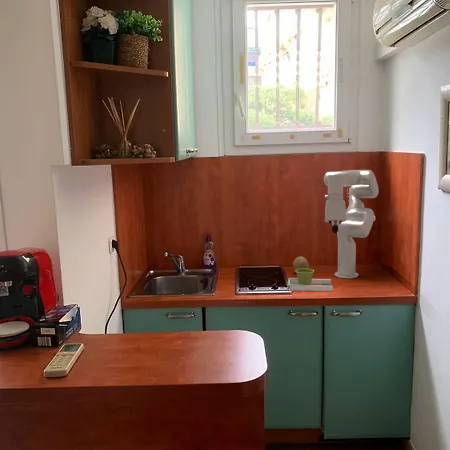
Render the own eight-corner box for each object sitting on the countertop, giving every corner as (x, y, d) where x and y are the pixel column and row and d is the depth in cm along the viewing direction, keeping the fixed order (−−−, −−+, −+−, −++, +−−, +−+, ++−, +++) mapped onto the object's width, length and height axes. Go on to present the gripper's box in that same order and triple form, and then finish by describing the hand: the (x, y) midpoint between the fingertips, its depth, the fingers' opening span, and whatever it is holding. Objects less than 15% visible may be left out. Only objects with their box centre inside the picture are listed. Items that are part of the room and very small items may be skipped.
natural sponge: (292, 271, 270) (292, 254, 269) (307, 271, 270) (307, 254, 269) (293, 275, 261) (293, 258, 260) (309, 275, 261) (309, 258, 260)
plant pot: (313, 290, 233) (313, 273, 232) (294, 289, 235) (294, 272, 234) (314, 285, 242) (314, 268, 241) (296, 284, 244) (296, 268, 243)
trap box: (288, 283, 246) (288, 278, 246) (330, 283, 243) (330, 278, 243) (288, 290, 233) (287, 284, 233) (332, 291, 230) (332, 285, 230)
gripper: (320, 198, 232) (320, 234, 235) (351, 197, 230) (351, 234, 233) (319, 197, 240) (319, 232, 243) (349, 196, 238) (349, 232, 240)
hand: (335, 233), depth 238 cm, fingers closed
